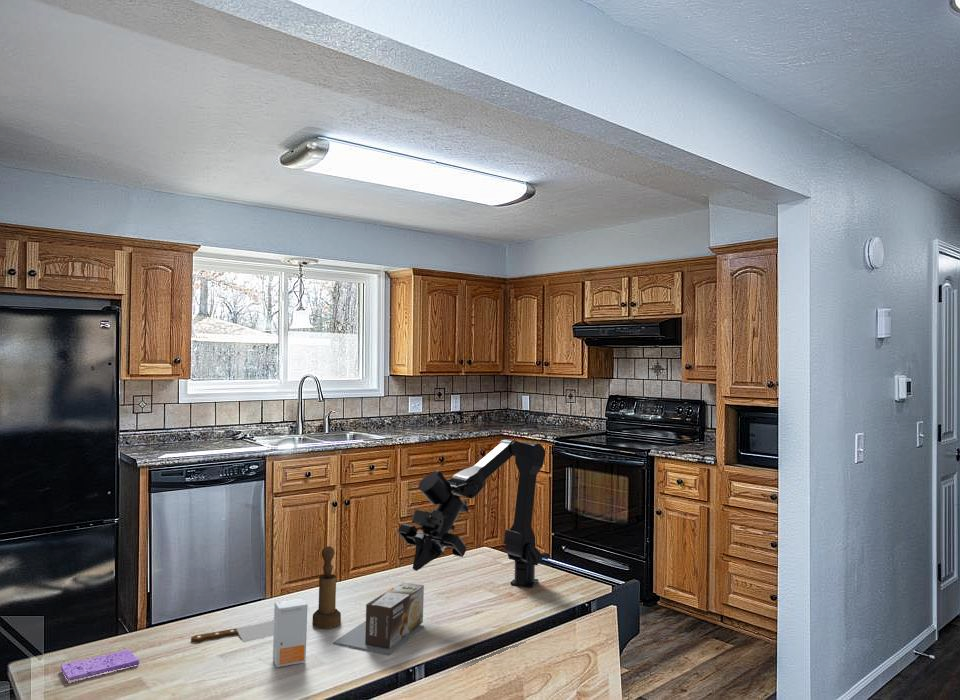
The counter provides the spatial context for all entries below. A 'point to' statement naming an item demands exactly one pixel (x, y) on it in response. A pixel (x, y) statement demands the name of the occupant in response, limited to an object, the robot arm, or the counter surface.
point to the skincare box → (290, 632)
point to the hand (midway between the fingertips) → (414, 569)
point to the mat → (357, 641)
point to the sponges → (99, 664)
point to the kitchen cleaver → (240, 633)
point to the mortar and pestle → (327, 595)
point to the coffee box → (394, 615)
